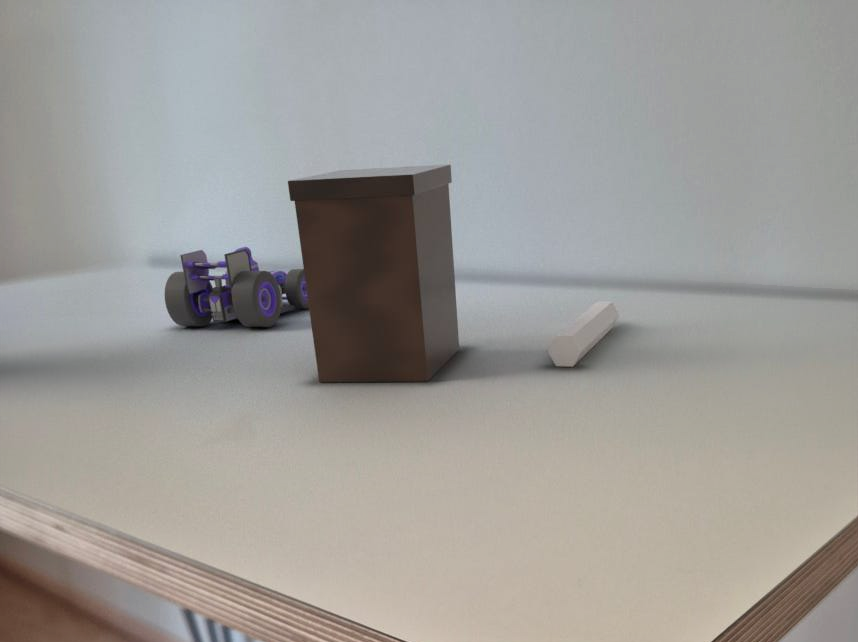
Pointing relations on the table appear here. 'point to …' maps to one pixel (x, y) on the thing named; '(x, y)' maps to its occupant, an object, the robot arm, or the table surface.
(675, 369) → the table surface
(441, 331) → the brown lidded box
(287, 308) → the toy race car
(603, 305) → the grey hexagonal bar
